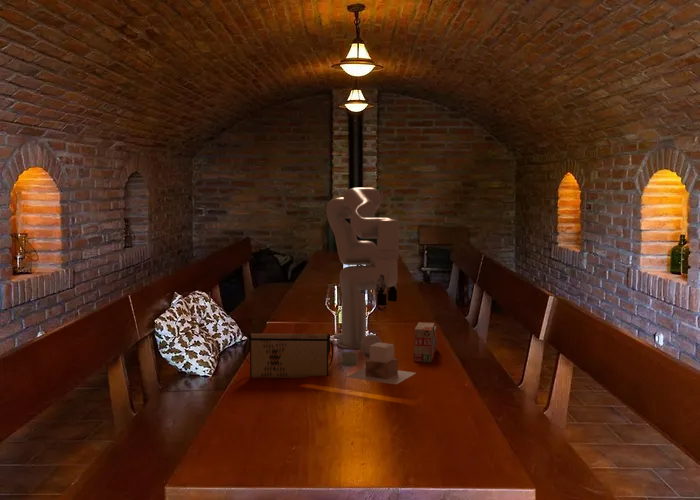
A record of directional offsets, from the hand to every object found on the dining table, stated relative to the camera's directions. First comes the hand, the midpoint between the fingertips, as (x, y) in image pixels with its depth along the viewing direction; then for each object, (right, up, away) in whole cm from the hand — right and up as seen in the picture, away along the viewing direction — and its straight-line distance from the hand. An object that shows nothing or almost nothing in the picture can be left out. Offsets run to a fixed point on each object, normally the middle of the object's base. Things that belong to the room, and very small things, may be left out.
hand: (387, 303), depth 259 cm
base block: (-3, -23, -15) cm, 27 cm away
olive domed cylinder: (-13, -22, -1) cm, 26 cm away
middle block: (-2, -18, -16) cm, 24 cm away
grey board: (-3, -24, -15) cm, 28 cm away
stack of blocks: (+15, -21, +18) cm, 31 cm away
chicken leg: (-4, -22, +11) cm, 24 cm away
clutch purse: (-33, -24, -13) cm, 43 cm away
